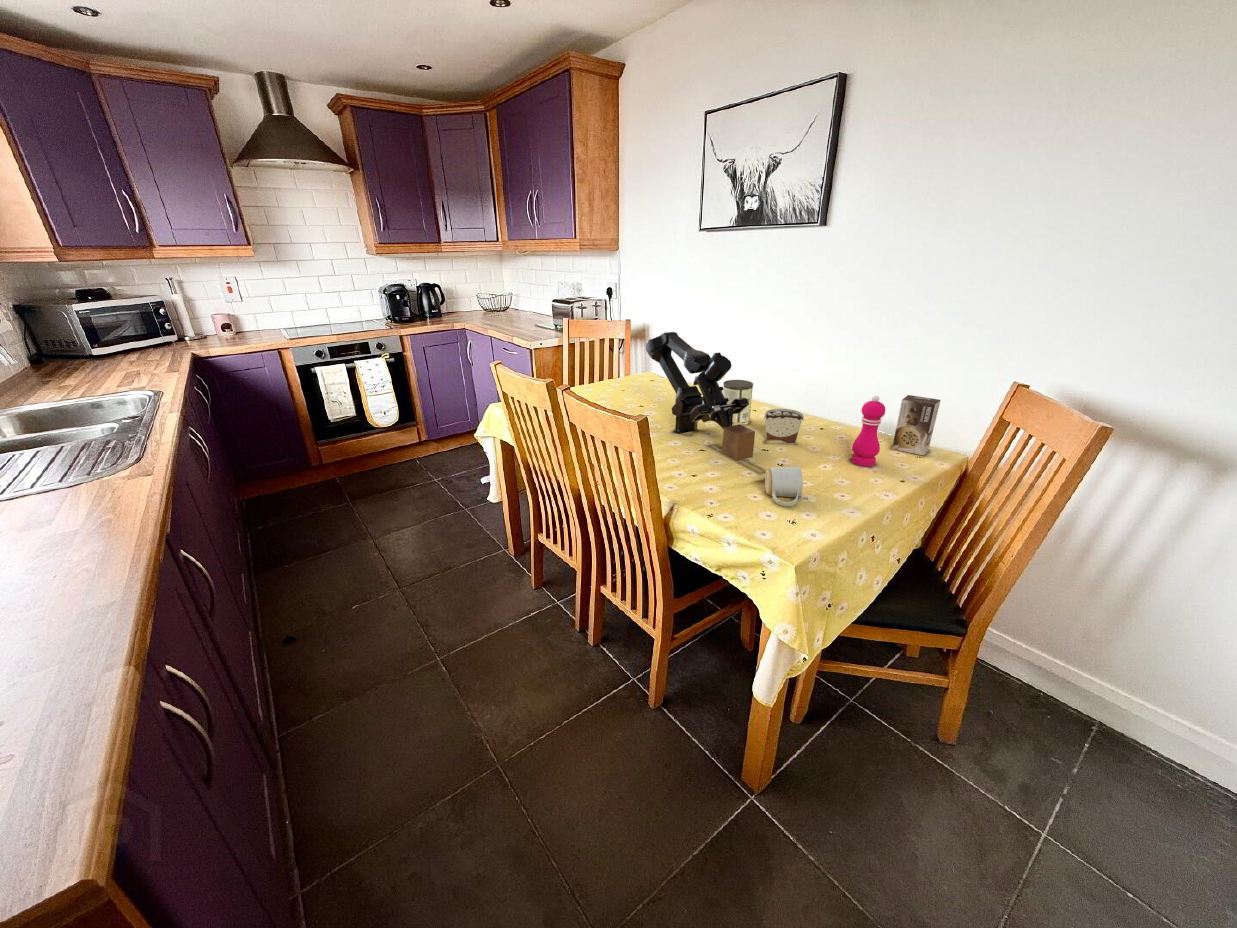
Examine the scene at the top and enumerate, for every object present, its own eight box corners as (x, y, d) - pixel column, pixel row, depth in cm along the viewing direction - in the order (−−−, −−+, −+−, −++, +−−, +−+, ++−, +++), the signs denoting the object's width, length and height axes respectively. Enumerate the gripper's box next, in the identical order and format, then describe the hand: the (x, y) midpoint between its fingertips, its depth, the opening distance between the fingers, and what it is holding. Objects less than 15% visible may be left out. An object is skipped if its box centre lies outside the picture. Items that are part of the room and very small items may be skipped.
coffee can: (726, 415, 188) (729, 378, 182) (753, 419, 183) (757, 381, 177) (716, 422, 180) (718, 384, 174) (743, 427, 175) (747, 388, 169)
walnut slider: (721, 452, 150) (723, 427, 147) (737, 449, 153) (739, 424, 150) (736, 460, 145) (738, 434, 141) (752, 456, 147) (755, 431, 144)
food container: (796, 437, 165) (800, 408, 161) (800, 444, 159) (804, 414, 155) (758, 436, 166) (761, 407, 162) (761, 443, 161) (764, 413, 157)
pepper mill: (875, 459, 148) (888, 393, 140) (878, 468, 141) (892, 400, 133) (848, 456, 150) (860, 391, 142) (850, 465, 144) (863, 398, 136)
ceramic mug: (762, 487, 131) (765, 461, 128) (794, 488, 130) (798, 461, 127) (769, 507, 121) (773, 479, 118) (804, 508, 121) (809, 480, 117)
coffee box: (929, 450, 154) (942, 399, 147) (923, 456, 149) (936, 404, 143) (896, 443, 159) (908, 394, 153) (890, 448, 155) (901, 398, 149)
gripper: (722, 399, 165) (741, 440, 160) (674, 406, 158) (692, 450, 153) (739, 380, 156) (760, 424, 151) (689, 388, 148) (709, 434, 143)
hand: (730, 433), depth 150 cm, fingers closed, pressing on walnut slider
